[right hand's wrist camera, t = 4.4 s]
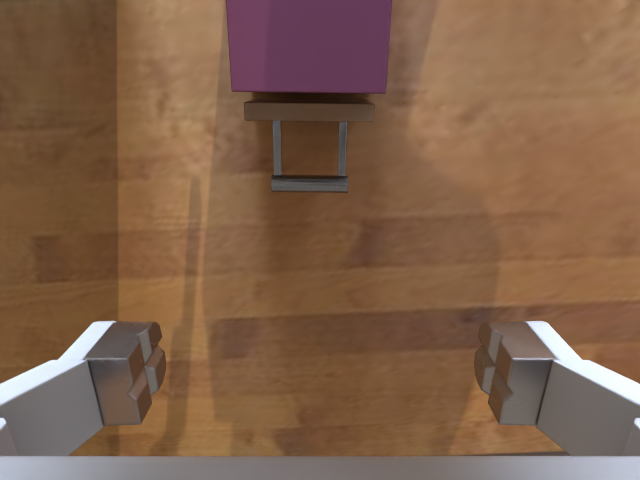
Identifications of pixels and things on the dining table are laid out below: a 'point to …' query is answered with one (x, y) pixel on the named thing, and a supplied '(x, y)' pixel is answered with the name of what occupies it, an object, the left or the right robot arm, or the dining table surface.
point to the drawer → (309, 111)
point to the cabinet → (309, 45)
